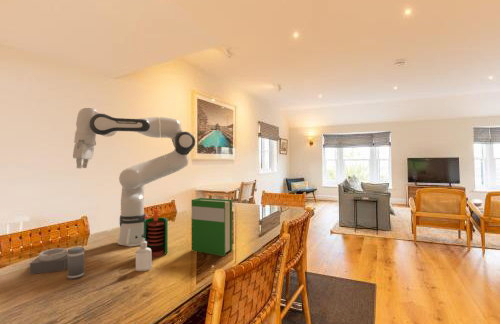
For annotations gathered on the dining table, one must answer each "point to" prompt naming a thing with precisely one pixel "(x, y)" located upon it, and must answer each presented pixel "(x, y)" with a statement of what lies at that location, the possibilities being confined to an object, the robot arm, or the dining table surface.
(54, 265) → the grey holder base
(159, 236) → the motor
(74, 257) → the lens
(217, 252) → the hardback book
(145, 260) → the eye dropper bottle
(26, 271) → the dining table surface
